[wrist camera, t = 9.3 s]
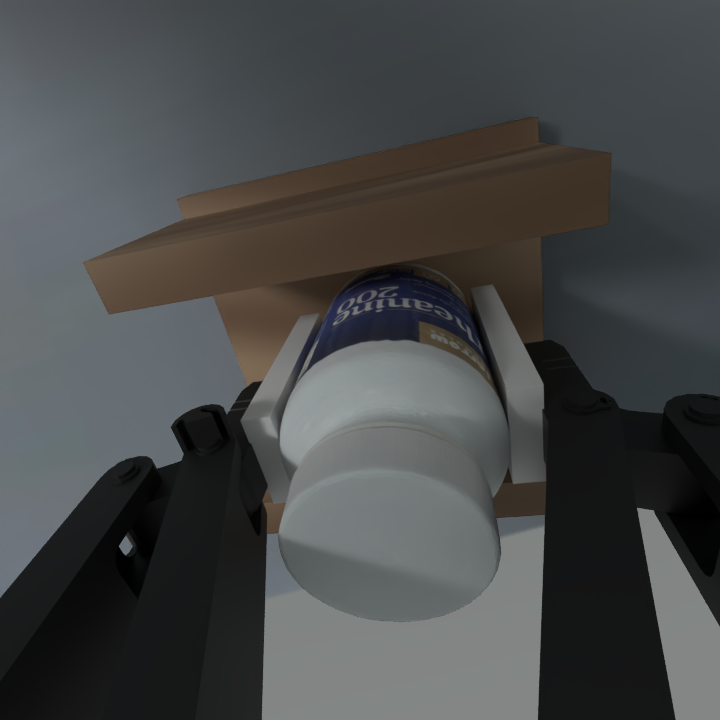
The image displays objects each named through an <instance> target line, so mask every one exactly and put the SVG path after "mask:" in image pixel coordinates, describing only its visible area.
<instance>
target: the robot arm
mask: <svg viewBox="0 0 720 720" xmlns="http://www.w3.org/2000/svg"><path fill="white" fill-rule="evenodd" d="M470 291H471V301H472V311H473V315H474V318H475V321H476V324H477V328H478V331H479V334H480V338H481V341H482V344H483V347H484V350H485V353H486V356H487V359H488V362H489V366H490V369H491V372H492V375H493V379H494V382H495V384H496V387H497V390H498V393H499V396H500V398H501V401H502V404H503V407H504V410H505V414H506V419H507V423H508V428H509V434H510V460H509V465H508V468H509V471H510V475H511V478H512V482H513V484H518V483H530V482H542V481H546V506H545V535H544V565H543V593H542V620H541V649H540V678H539V707H538V720H675V714H674V709H673V703H672V698H671V692H670V687H669V682H668V676H667V671H666V665H665V660H664V655H663V649H662V643H661V638H660V632H659V627H658V621H657V616H656V610H655V605H654V599H653V594H652V588H651V583H650V577H649V572H648V566H647V561H646V555H645V550H644V544H643V539H642V533H641V528H640V523H639V517H638V512H637V508H643V509H649V510H654V512H655V515H656V516H657V518H658V520H659V521H660V523H661V525H662V527H663V528H664V530H665V532H666V534H667V535H668V537H669V539H670V541H671V542H672V544H673V546H674V548H675V549H676V551H677V553H678V554H679V556H680V558H681V560H682V562H683V563H684V565H685V567H686V568H687V570H688V572H689V574H690V575H691V577H692V579H693V581H694V582H695V584H696V586H697V587H698V589H699V591H700V593H701V595H702V596H703V598H704V600H705V602H706V603H707V605H708V606H709V608H710V610H711V612H712V614H713V615H714V617H715V619H716V621H717V622H718V624H719V626H720V397H717V396H713V395H706V394H686V395H682V396H677V397H674V398H672V399H671V400H669V401H667V403H666V405H665V407H664V412H663V414H662V413H648V412H637V411H629V410H625V409H621V408H619V407H618V405H617V403H616V401H615V399H613V398H612V397H610V396H609V395H607V394H606V393H603V392H600V391H597V390H594V389H592V387H591V386H590V384H589V383H588V381H587V380H586V378H585V377H584V375H583V374H582V372H581V371H580V370H579V368H578V367H577V366H576V364H575V362H574V361H573V359H572V358H571V356H570V355H569V353H568V352H567V351H566V349H565V348H564V347H563V346H561V345H559V344H558V343H556V342H554V341H552V340H546V341H539V342H531V343H524V344H523V343H522V341H521V339H520V337H519V335H518V333H517V331H516V329H515V327H514V325H513V323H512V321H511V319H510V317H509V315H508V313H507V311H506V309H505V307H504V305H503V303H502V301H501V299H500V297H499V295H498V293H497V292H496V290H495V288H494V286H493V284H491V285H485V286H479V287H473V288H470ZM321 326H322V319H321V315H320V313H314V314H308V315H302V316H300V317H299V319H298V321H297V322H296V324H295V326H294V328H293V329H292V331H291V333H290V335H289V336H288V338H287V340H286V342H285V343H284V345H283V347H282V349H281V350H280V352H279V354H278V356H277V357H276V359H275V361H274V363H273V364H272V366H271V368H270V370H269V371H268V373H267V375H266V377H265V378H264V380H263V381H257V382H252V383H251V384H250V385H249V386H248V387H246V388H245V389H244V390H243V391H242V392H241V393H240V395H239V396H238V398H237V400H236V401H235V402H236V403H234V404H233V406H232V407H231V409H230V410H231V411H229V412H228V414H227V415H226V412H225V410H224V408H223V407H222V406H220V405H214V404H210V405H204V406H200V407H198V408H195V409H192V410H190V411H188V412H186V413H185V414H183V415H182V416H180V417H179V418H178V419H177V420H175V422H174V423H173V425H172V426H171V429H172V431H173V433H174V435H175V437H176V439H177V441H178V443H179V445H180V447H181V449H182V451H183V453H184V455H183V458H182V461H180V462H177V463H174V464H171V465H167V466H164V467H161V468H158V469H157V468H156V466H155V464H154V463H153V461H152V459H151V458H149V457H147V456H138V457H134V458H129V459H126V460H124V461H121V462H119V463H118V464H116V465H115V466H114V467H112V468H111V469H109V470H108V471H107V472H106V473H105V474H104V475H103V476H102V477H101V478H100V479H99V480H98V482H97V483H96V484H95V485H94V486H93V488H92V489H91V490H90V491H89V492H88V494H87V495H86V496H85V497H84V498H83V500H82V501H81V502H80V503H79V504H78V506H77V507H76V508H75V509H74V510H73V512H72V513H71V514H70V515H69V516H68V518H67V519H66V520H65V521H64V522H63V524H62V525H61V526H60V527H59V528H58V529H57V531H56V532H55V533H54V534H53V535H52V537H51V538H50V539H49V540H48V541H47V543H46V544H45V545H44V546H43V547H42V549H41V550H40V551H39V552H38V553H37V555H36V556H35V557H34V558H33V559H32V561H31V562H30V563H29V564H28V565H27V567H26V568H25V569H24V570H23V571H22V573H21V574H20V575H19V576H18V577H17V579H16V580H15V581H14V582H13V583H12V585H11V586H10V587H9V588H8V589H7V591H6V592H5V593H4V594H3V595H2V597H1V598H0V720H262V689H263V653H264V617H265V615H264V614H265V581H266V544H267V511H266V508H265V506H264V503H263V501H262V500H263V497H264V495H265V492H266V490H267V488H268V491H269V493H270V496H271V498H272V501H273V503H274V504H275V503H286V501H287V497H288V494H289V489H290V485H291V482H290V480H289V478H288V476H287V474H286V471H285V469H284V465H283V461H282V458H281V452H280V429H281V423H282V418H283V415H284V411H285V408H286V405H287V402H288V399H289V397H290V394H291V392H292V390H293V389H294V387H295V384H296V382H297V379H298V377H299V375H300V373H301V370H302V368H303V366H304V364H305V361H306V359H307V357H308V355H309V353H310V350H311V348H312V346H313V343H314V341H315V339H316V337H317V334H318V332H319V330H320V328H321ZM546 467H547V477H546ZM125 536H127V538H128V539H129V541H130V542H131V544H132V546H133V547H132V549H131V550H130V552H129V553H128V554H127V555H124V554H123V552H122V551H121V549H120V548H119V545H120V543H121V542H122V540H123V539H124V537H125Z"/></svg>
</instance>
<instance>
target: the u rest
mask: <svg viewBox="0 0 720 720" xmlns="http://www.w3.org/2000/svg"><path fill="white" fill-rule="evenodd" d="M610 173H611V153H608V152H601V151H594V150H588V149H581V148H574V147H568V146H561V145H554V144H548V143H541V142H539V130H538V117H529V118H525V119H520V120H516V121H512V122H507V123H503V124H499V125H494V126H490V127H485V128H481V129H477V130H472V131H468V132H464V133H459V134H455V135H450V136H446V137H442V138H437V139H433V140H428V141H424V142H420V143H415V144H411V145H407V146H402V147H398V148H393V149H389V150H385V151H380V152H376V153H372V154H367V155H363V156H358V157H354V158H350V159H345V160H341V161H336V162H332V163H328V164H323V165H319V166H315V167H310V168H306V169H301V170H297V171H293V172H288V173H284V174H280V175H275V176H271V177H266V178H262V179H258V180H253V181H249V182H244V183H240V184H236V185H231V186H227V187H223V188H218V189H214V190H209V191H205V192H201V193H196V194H192V195H188V196H185V197H182V198H179V199H177V201H178V204H179V207H180V209H181V212H182V214H183V217H184V220H181V221H179V222H177V223H174V224H172V225H170V226H167V227H165V228H163V229H160V230H158V231H156V232H153V233H151V234H149V235H146V236H144V237H142V238H139V239H137V240H135V241H132V242H130V243H128V244H125V245H123V246H121V247H118V248H116V249H114V250H111V251H109V252H106V253H104V254H102V255H99V256H97V257H95V258H92V259H90V260H88V261H85V262H83V264H84V266H85V268H86V270H87V272H88V274H89V276H90V278H91V280H92V282H93V284H94V286H95V288H96V290H97V292H98V294H99V296H100V298H101V300H102V302H103V304H104V306H105V308H106V310H107V312H108V314H114V313H120V312H125V311H131V310H136V309H142V308H148V307H153V306H159V305H164V304H170V303H175V302H181V301H187V300H192V299H198V298H203V297H209V296H214V299H215V302H216V304H217V307H218V310H219V312H220V315H221V318H222V320H223V323H224V325H225V328H226V331H227V333H228V336H229V339H230V341H231V344H232V347H233V349H234V352H235V354H236V357H237V360H238V362H239V365H240V368H241V370H242V373H243V376H244V378H245V381H246V384H247V386H249V385H250V384H251V383H252V382H257V381H263V380H264V378H265V377H266V375H267V373H268V371H269V370H270V368H271V366H272V364H273V363H274V361H275V359H276V357H277V356H278V354H279V352H280V350H281V349H282V347H283V345H284V343H285V342H286V340H287V338H288V336H289V335H290V333H291V331H292V329H293V328H294V326H295V324H296V322H297V321H298V319H299V317H300V316H302V315H308V314H314V313H320V315H321V319H322V323H323V321H324V319H325V316H326V314H327V311H328V309H329V307H330V305H331V304H332V302H333V300H334V298H335V297H336V295H337V294H338V292H339V291H340V290H341V288H342V287H343V286H344V285H345V284H346V283H347V282H348V281H349V280H350V279H351V278H353V277H354V276H355V275H357V274H358V273H360V272H362V271H363V270H365V269H368V268H370V267H376V266H381V265H387V264H392V263H398V262H411V263H416V264H421V265H424V266H427V267H429V268H432V269H434V270H437V271H439V272H440V273H442V274H443V275H445V276H446V277H447V278H449V279H450V280H451V281H452V282H453V283H454V284H455V285H456V286H457V287H458V288H459V289H460V290H461V292H462V293H463V295H464V296H465V298H466V300H467V301H468V303H469V305H470V307H471V310H472V301H471V291H470V288H473V287H479V286H485V285H491V284H493V286H494V288H495V290H496V292H497V293H498V295H499V297H500V299H501V301H502V303H503V305H504V307H505V309H506V311H507V313H508V315H509V317H510V319H511V321H512V323H513V325H514V327H515V329H516V331H517V333H518V335H519V337H520V339H521V341H522V343H523V344H524V343H531V342H539V341H544V332H543V291H542V251H541V237H543V236H548V235H554V234H559V233H565V232H570V231H576V230H581V229H587V228H593V227H598V226H604V225H608V220H609V197H610ZM472 313H473V311H472ZM546 477H547V467H546ZM493 500H494V508H495V514H496V518H504V517H519V516H533V515H545V506H546V481H542V482H530V483H518V484H513V482H512V478H511V475H510V471H509V468H508V469H507V472H506V475H505V478H504V480H503V482H502V484H501V486H500V488H499V490H498V492H497V493H496V495H495V496H494V497H493ZM262 501H263V503H264V506H265V508H266V511H267V534H273V533H279V527H280V523H281V519H282V515H283V511H284V508H285V504H286V503H275V504H274V503H273V501H272V498H271V496H270V493H269V491H268V488H267V490H266V492H265V495H264V497H263V500H262Z"/></svg>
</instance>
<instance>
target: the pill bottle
mask: <svg viewBox="0 0 720 720" xmlns="http://www.w3.org/2000/svg"><path fill="white" fill-rule="evenodd" d="M280 452H281V458H282V461H283V465H284V469H285V471H286V474H287V476H288V478H289V480H290V482H291V485H290V489H289V494H288V497H287V501H286V504H285V508H284V511H283V515H282V519H281V523H280V527H279V536H278V537H279V547H280V552H281V556H282V558H283V560H284V563H285V565H286V567H287V569H288V571H289V572H290V574H291V575H292V576H293V578H294V579H295V580H296V581H297V583H298V584H299V585H300V586H301V587H302V588H303V589H304V590H306V591H307V592H308V593H309V594H311V595H312V596H313V597H315V598H317V599H318V600H320V601H322V602H323V603H326V604H327V605H329V606H331V607H333V608H335V609H338V610H340V611H343V612H345V613H348V614H351V615H354V616H357V617H361V618H366V619H372V620H379V621H394V622H410V621H420V620H426V619H430V618H435V617H440V616H443V615H446V614H449V613H451V612H453V611H456V610H458V609H460V608H462V607H464V606H465V605H467V604H469V603H471V602H472V601H473V600H474V599H476V598H477V597H478V596H479V595H481V593H482V592H483V591H484V590H485V589H486V588H487V587H488V586H489V584H490V583H491V582H492V580H493V578H494V576H495V574H496V572H497V570H498V566H499V561H500V556H501V547H500V537H499V532H498V526H497V520H496V514H495V508H494V500H493V497H494V496H495V495H496V493H497V492H498V490H499V488H500V486H501V484H502V482H503V480H504V478H505V475H506V472H507V469H508V465H509V460H510V434H509V428H508V423H507V419H506V414H505V410H504V407H503V404H502V401H501V398H500V396H499V393H498V390H497V387H496V384H495V382H494V379H493V375H492V372H491V369H490V366H489V362H488V359H487V356H486V353H485V350H484V347H483V344H482V341H481V338H480V334H479V331H478V328H477V324H476V321H475V318H474V315H473V313H472V310H471V307H470V305H469V303H468V301H467V300H466V298H465V296H464V295H463V293H462V292H461V290H460V289H459V288H458V287H457V286H456V285H455V284H454V283H453V282H452V281H451V280H450V279H449V278H447V277H446V276H445V275H443V274H442V273H440V272H439V271H437V270H434V269H432V268H429V267H427V266H424V265H421V264H416V263H411V262H398V263H392V264H387V265H381V266H376V267H370V268H368V269H365V270H363V271H362V272H360V273H358V274H357V275H355V276H354V277H353V278H351V279H350V280H349V281H348V282H347V283H346V284H345V285H344V286H343V287H342V288H341V290H340V291H339V292H338V294H337V295H336V297H335V298H334V300H333V302H332V304H331V305H330V307H329V309H328V311H327V314H326V316H325V319H324V321H323V323H322V326H321V328H320V330H319V332H318V334H317V337H316V339H315V341H314V343H313V346H312V348H311V350H310V353H309V355H308V357H307V359H306V361H305V364H304V366H303V368H302V370H301V373H300V375H299V377H298V379H297V382H296V384H295V387H294V389H293V390H292V392H291V394H290V397H289V399H288V402H287V405H286V408H285V411H284V415H283V418H282V423H281V429H280Z"/></svg>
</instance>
